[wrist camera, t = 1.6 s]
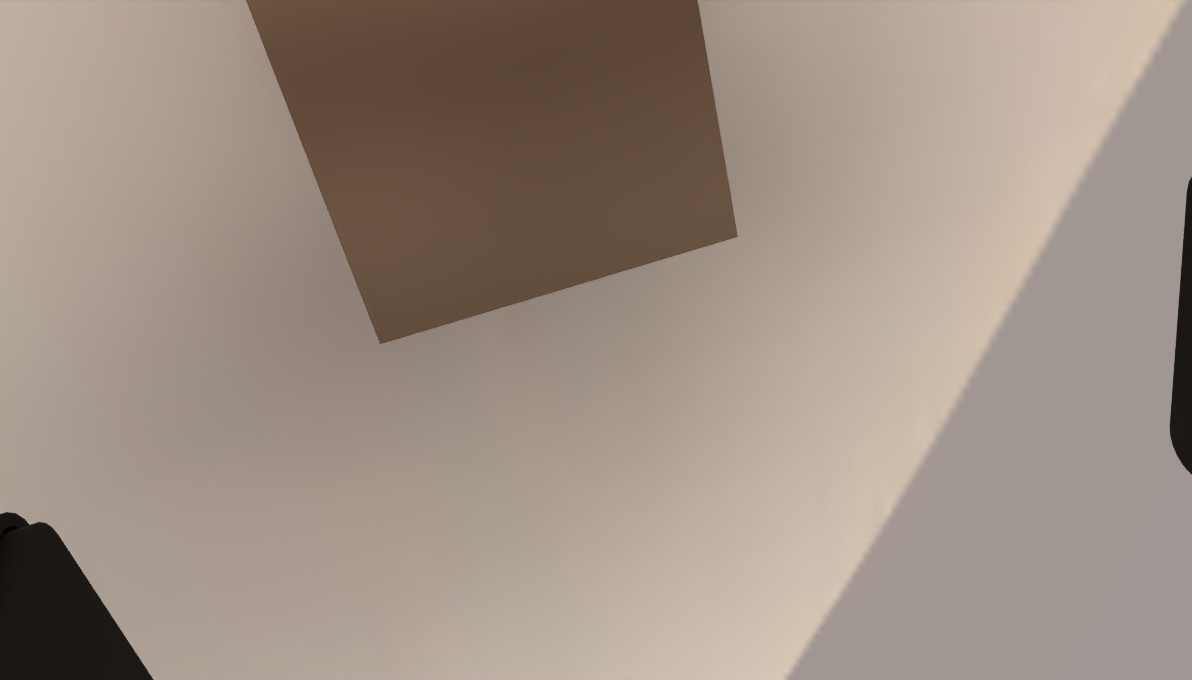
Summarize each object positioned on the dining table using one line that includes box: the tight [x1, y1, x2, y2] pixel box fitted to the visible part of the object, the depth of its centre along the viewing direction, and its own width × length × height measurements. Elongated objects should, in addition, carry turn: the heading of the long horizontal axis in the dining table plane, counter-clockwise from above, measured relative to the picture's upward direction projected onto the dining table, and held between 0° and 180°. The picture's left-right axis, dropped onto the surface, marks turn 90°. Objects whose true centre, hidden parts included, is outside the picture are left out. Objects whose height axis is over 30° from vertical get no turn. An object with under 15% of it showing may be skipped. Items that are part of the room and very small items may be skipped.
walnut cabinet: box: [246, 0, 738, 344], centre depth 19 cm, size 7×6×9 cm
